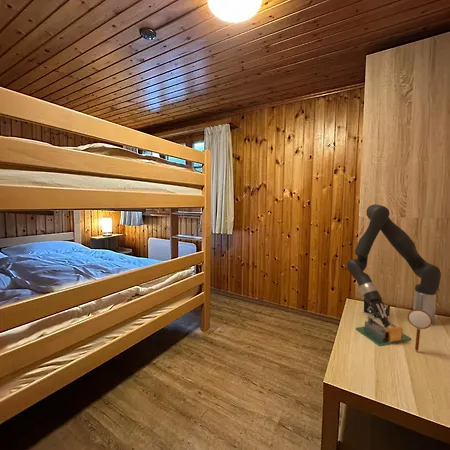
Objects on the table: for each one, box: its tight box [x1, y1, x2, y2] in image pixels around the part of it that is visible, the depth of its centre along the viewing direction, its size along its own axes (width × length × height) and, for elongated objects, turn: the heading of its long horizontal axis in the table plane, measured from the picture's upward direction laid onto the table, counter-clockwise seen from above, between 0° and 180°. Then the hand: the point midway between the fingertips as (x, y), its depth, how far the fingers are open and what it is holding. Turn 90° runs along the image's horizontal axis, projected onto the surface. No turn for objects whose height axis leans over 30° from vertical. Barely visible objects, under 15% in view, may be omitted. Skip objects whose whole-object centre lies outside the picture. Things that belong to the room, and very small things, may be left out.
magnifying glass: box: [407, 309, 433, 352], centre depth 114 cm, size 9×2×20 cm, turn 49°
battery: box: [363, 297, 376, 315], centre depth 152 cm, size 7×4×11 cm, turn 47°
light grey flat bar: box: [372, 318, 392, 329], centre depth 128 cm, size 4×11×1 cm, turn 14°
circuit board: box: [355, 316, 412, 347], centre depth 128 cm, size 19×15×8 cm
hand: (387, 326), depth 125 cm, fingers closed
